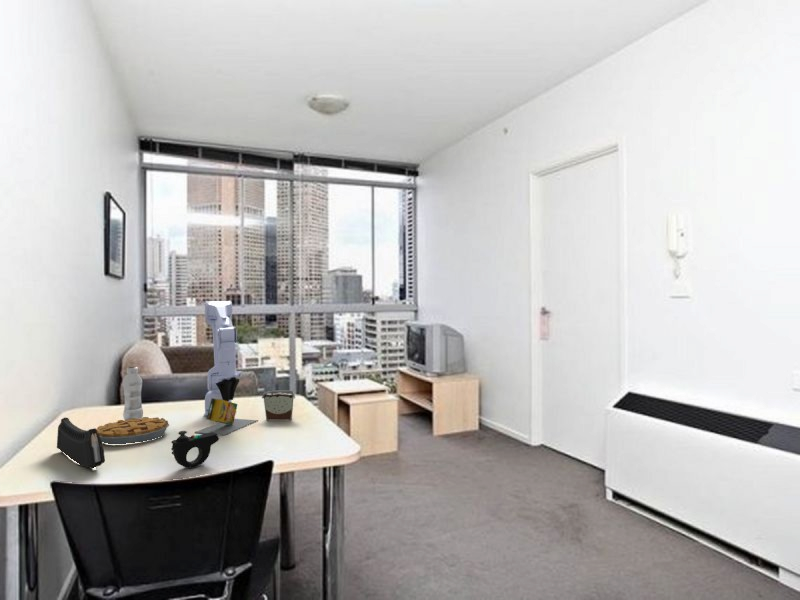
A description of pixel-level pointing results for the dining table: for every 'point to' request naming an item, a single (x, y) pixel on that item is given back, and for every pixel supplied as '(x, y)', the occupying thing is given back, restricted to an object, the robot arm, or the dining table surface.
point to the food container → (278, 404)
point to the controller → (187, 443)
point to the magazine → (80, 444)
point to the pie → (132, 430)
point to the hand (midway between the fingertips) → (228, 400)
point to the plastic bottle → (132, 394)
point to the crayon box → (222, 411)
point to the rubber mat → (226, 427)
